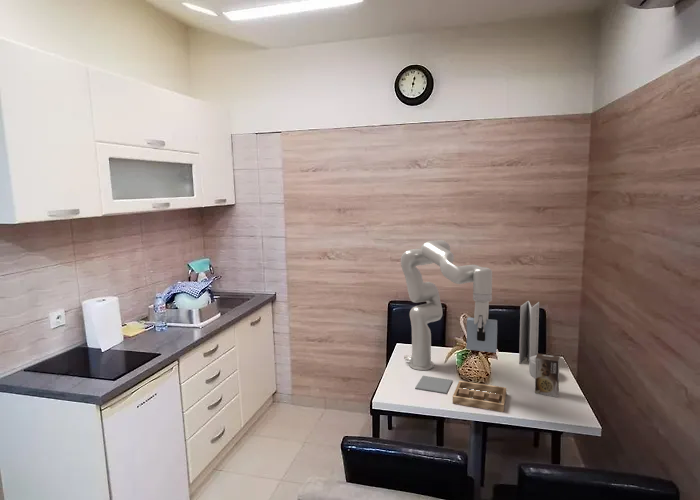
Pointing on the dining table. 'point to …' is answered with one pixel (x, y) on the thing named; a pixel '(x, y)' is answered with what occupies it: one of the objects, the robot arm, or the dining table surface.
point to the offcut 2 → (479, 395)
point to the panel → (490, 336)
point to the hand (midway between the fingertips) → (481, 338)
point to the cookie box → (547, 375)
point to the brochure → (528, 330)
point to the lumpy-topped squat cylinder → (532, 366)
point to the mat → (434, 384)
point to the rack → (480, 403)
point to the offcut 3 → (494, 398)
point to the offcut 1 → (464, 393)
